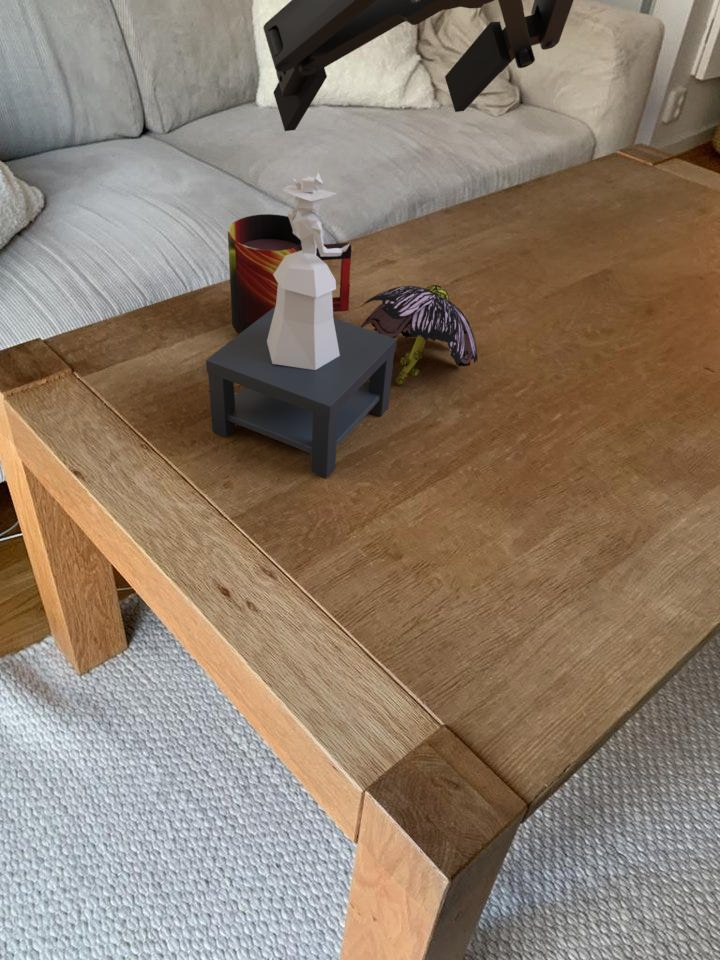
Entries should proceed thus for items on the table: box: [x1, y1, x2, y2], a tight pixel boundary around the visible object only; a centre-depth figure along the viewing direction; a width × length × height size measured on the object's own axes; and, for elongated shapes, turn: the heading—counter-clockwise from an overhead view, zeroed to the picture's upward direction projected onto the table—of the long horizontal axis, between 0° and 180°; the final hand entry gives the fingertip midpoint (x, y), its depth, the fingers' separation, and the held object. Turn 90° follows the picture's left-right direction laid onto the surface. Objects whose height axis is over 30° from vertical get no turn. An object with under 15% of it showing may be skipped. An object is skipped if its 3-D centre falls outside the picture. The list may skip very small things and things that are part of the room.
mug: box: [227, 213, 352, 335], centre depth 100 cm, size 10×14×12 cm
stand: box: [205, 306, 398, 479], centre depth 85 cm, size 14×14×9 cm
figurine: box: [267, 172, 351, 370], centre depth 76 cm, size 7×8×18 cm
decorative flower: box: [359, 284, 478, 387], centre depth 94 cm, size 15×12×15 cm
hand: (372, 102), depth 58 cm, fingers open, 13 cm apart
